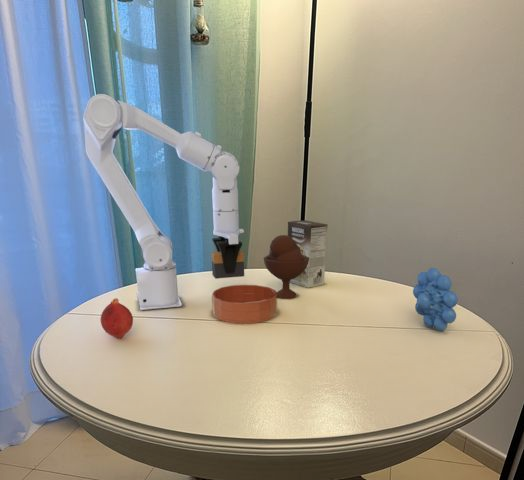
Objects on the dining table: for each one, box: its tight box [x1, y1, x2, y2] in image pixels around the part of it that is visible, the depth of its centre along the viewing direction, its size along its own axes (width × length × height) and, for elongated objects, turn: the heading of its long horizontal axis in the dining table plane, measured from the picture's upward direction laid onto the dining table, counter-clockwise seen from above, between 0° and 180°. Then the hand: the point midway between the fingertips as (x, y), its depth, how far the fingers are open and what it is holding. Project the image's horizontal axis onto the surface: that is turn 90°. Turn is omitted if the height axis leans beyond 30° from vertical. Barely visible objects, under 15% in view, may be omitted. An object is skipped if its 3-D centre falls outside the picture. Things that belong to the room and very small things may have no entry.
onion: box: [100, 297, 134, 339], centre depth 86 cm, size 6×6×8 cm
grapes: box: [412, 267, 459, 332], centre depth 90 cm, size 12×7×12 cm, turn 23°
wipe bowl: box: [211, 284, 278, 325], centre depth 100 cm, size 14×14×4 cm
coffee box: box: [287, 220, 329, 288], centre depth 121 cm, size 9×6×16 cm
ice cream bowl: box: [263, 234, 309, 300], centre depth 110 cm, size 11×11×15 cm
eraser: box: [211, 249, 245, 280], centre depth 107 cm, size 7×4×6 cm, turn 107°
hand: (227, 270), depth 107 cm, fingers closed on eraser, 3 cm apart
